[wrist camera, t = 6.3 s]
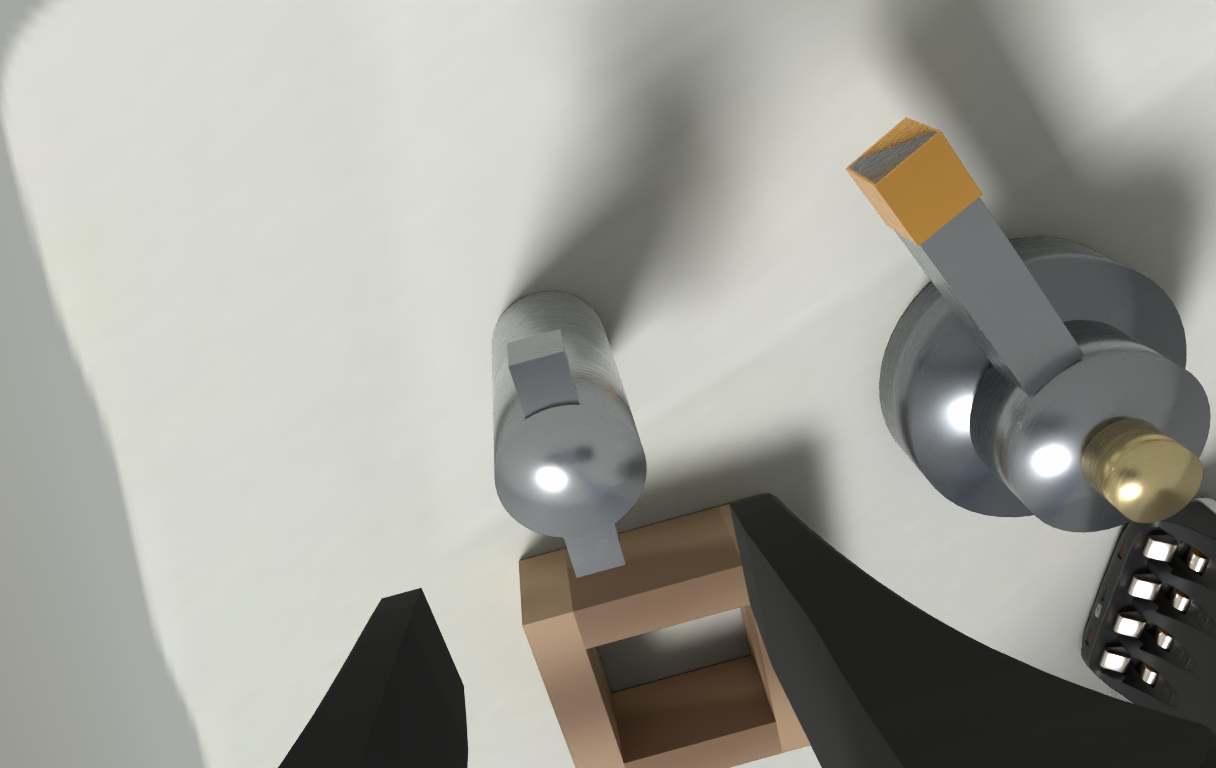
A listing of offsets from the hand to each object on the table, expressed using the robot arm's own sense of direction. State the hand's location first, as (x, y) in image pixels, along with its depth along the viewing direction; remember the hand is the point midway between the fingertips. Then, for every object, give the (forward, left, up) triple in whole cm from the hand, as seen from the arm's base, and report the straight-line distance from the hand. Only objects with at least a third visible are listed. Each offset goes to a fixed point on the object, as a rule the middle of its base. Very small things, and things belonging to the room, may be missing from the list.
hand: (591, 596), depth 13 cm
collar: (-1, -10, -7) cm, 12 cm away
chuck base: (-4, -11, -9) cm, 15 cm away
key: (0, 0, -9) cm, 9 cm away
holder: (-10, -1, -9) cm, 13 cm away
